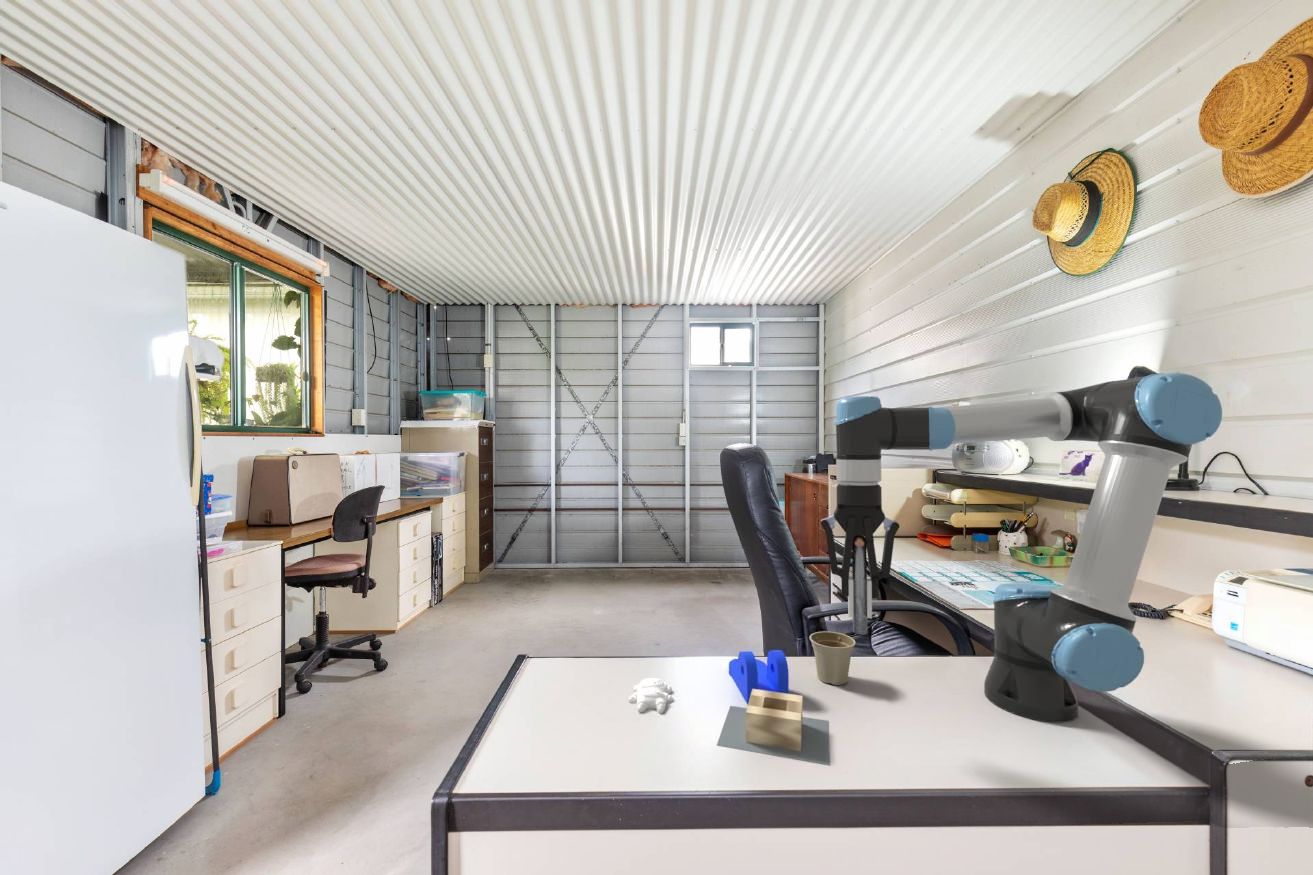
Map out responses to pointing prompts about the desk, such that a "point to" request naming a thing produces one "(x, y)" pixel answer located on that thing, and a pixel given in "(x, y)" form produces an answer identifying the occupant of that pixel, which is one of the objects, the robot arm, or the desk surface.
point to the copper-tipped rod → (859, 584)
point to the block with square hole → (774, 719)
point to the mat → (811, 747)
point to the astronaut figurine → (651, 695)
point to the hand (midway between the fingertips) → (859, 614)
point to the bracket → (760, 673)
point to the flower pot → (832, 656)
